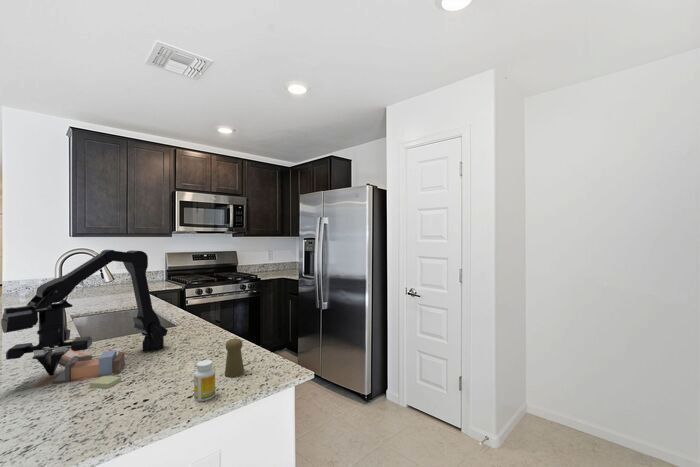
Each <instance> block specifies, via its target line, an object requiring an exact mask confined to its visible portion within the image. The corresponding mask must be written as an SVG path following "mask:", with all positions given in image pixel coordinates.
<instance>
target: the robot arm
mask: <svg viewBox="0 0 700 467" xmlns="http://www.w3.org/2000/svg"><path fill="white" fill-rule="evenodd" d="M112 262H116V263H117V262H121V263H123V265H124V267H125V269H126V271H127V272H128V273H129V275H130V278H131V284H132V288H133V292H134V298H135V302H136V307H137V315H136V316H135V317H132V320H133V323H134V325H133V326H134V328H135V329H136V330H137V331H138V332H140V333H141V335H142V336H144V337H143V340H142V352H155V351H156V352H157V351H160V350H163V349H164V348H165V337H166V336H167V335H168V329H167V328H166V327H164V326H162V325H161V321H160V318H159V316H158V315H157V313H156V312H155V310H154V309H153V305H152V304H153V303H152V298H151V294H150V293H151V292H150V288H149V283H148V280H147V273H146V272H147V270H148V267H149V256H148V254H147V253H146V252H144V251H142V250H135V249H134V250H128V251H119V250H118V251H117V250H114V249H104V250H102V251H101V252H100V253H99V254H97V255H95V256H93V257H92V258H91V259H89V260H87V261H86V262H84V263H82V264H81V265H79V266H78V267H76V268H75V269H72V271H70V272H68V273H66V274H64V275H62V276H59V277H56V278H54V279H51V280H49V281H47V282H44V283H42V284H41V285H39V286H38V287H37V288H36V291H35V295H34V296H33V297H32V298H31V299H30V301H28V303H27V304H26V305H25V306H24V305H23V306H15V307H12V306H11V307H5V308H4V309H3V313H2V318H1V319H0V325H1V329H2V333H3V334H6V333H12V332H17V331H22V330H23V331H24V330H30V329H33V328H34V326H36V325H37V324H38V330H37V331H36V335H38V344H37V345H34V344H33V343H32V342H28V343H27V342H25V343H19V344H18V343H17V344H15V345H14V346H12V347H10V348H8V349H7V350H6V353H5V360H14V359H15V360H16V359H20V358H22V357H23V356H24V355H25V354H30V353H32V354H33V356H32V360H37V361H38V363H39V364H40V365H42V367H43V369H44V370H45V371H46V373H47V374H48V376H52V375H55V373H56V371H57V368H58V366H59V361H60V359H61V357H62V355H64V354H65V353H67V352H68V351H69V349H70V348H71V350H73V351H80V350H81V351H85V350H88V349H89V348H90V347H91V346H92V345H93V339H92V337H91V336H89V335H88V336H79V337H76V338H75V339H74V340H72V341H69V340H70V337H71V329H69V328H66V324H65V309H67V308H72V307H73V306H74V305H73V304H71V303H70V302H68V301H67V300H66V298H67V297H68V296H69V295H70V294H71V293H72V292H73V291H74V289H75V288H76V287H77V286H79V284H80V283H82V282H83V281H85V280H87V279H88V278H90V277H91V276H92V275H94V274H95V273H97V272H98V271H100V270H101V269H103V268H104V267H106V266H107V265H109V264H110V263H112ZM52 351H55V353H53V354H52Z"/></svg>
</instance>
